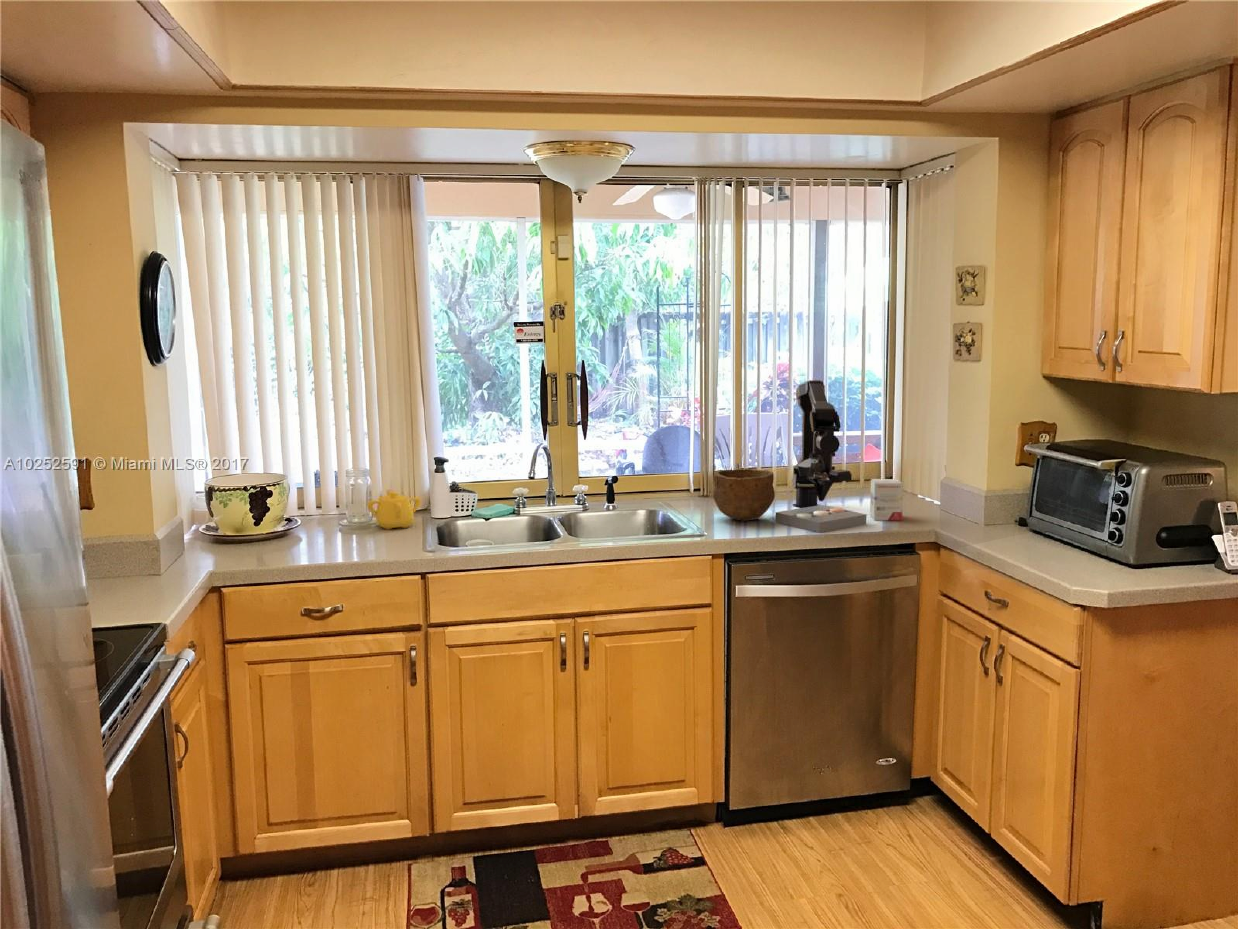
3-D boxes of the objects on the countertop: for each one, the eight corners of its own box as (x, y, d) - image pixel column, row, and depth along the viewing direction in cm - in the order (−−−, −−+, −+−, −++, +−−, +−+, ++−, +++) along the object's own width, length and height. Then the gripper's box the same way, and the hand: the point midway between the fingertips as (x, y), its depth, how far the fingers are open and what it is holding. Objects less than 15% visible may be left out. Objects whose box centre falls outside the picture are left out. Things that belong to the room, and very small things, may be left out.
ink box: (897, 515, 304) (898, 478, 302) (902, 521, 296) (903, 482, 294) (869, 514, 305) (870, 477, 303) (873, 520, 297) (874, 482, 295)
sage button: (793, 524, 290) (793, 514, 289) (803, 522, 292) (804, 512, 292) (803, 527, 286) (804, 517, 286) (814, 525, 289) (814, 515, 288)
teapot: (361, 528, 288) (360, 494, 286) (388, 520, 299) (387, 487, 297) (399, 532, 282) (398, 497, 280) (425, 524, 293) (424, 490, 292)
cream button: (810, 521, 294) (810, 511, 293) (820, 519, 296) (820, 510, 296) (820, 524, 290) (821, 514, 290) (831, 522, 292) (831, 512, 292)
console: (775, 521, 295) (775, 512, 294) (822, 514, 306) (822, 504, 306) (818, 532, 280) (819, 522, 280) (866, 524, 291) (866, 514, 291)
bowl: (702, 522, 294) (703, 474, 292) (725, 511, 311) (726, 465, 308) (761, 528, 286) (762, 478, 283) (782, 517, 302) (783, 469, 300)
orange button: (826, 518, 297) (826, 509, 297) (836, 517, 300) (836, 507, 299) (837, 521, 294) (837, 511, 293) (847, 519, 296) (847, 509, 296)
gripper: (781, 448, 293) (779, 499, 295) (826, 455, 278) (825, 509, 280) (807, 445, 299) (806, 495, 301) (853, 452, 284) (851, 504, 286)
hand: (821, 500), depth 292 cm, fingers closed
